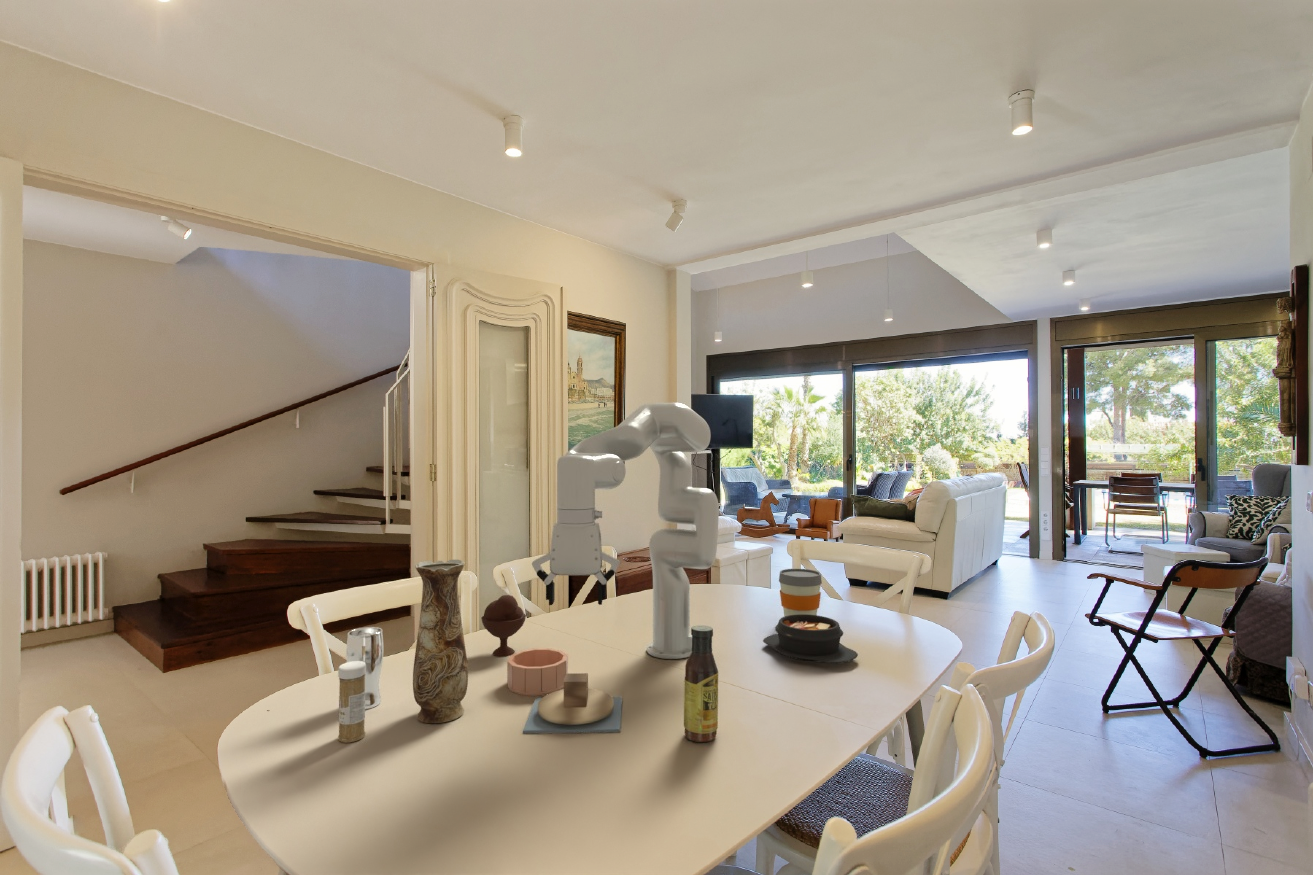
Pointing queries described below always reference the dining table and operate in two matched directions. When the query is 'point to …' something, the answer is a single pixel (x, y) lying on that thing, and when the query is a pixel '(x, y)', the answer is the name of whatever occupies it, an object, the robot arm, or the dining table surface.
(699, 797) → the dining table surface
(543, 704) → the lid
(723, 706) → the dining table surface
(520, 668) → the bowl
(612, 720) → the mat
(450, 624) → the vase
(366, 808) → the dining table surface
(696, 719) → the sauce bottle
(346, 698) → the sprinkles bottle
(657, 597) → the robot arm
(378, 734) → the dining table surface
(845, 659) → the casserole
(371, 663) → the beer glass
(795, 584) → the reusable coffee cup
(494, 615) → the ice cream bowl
